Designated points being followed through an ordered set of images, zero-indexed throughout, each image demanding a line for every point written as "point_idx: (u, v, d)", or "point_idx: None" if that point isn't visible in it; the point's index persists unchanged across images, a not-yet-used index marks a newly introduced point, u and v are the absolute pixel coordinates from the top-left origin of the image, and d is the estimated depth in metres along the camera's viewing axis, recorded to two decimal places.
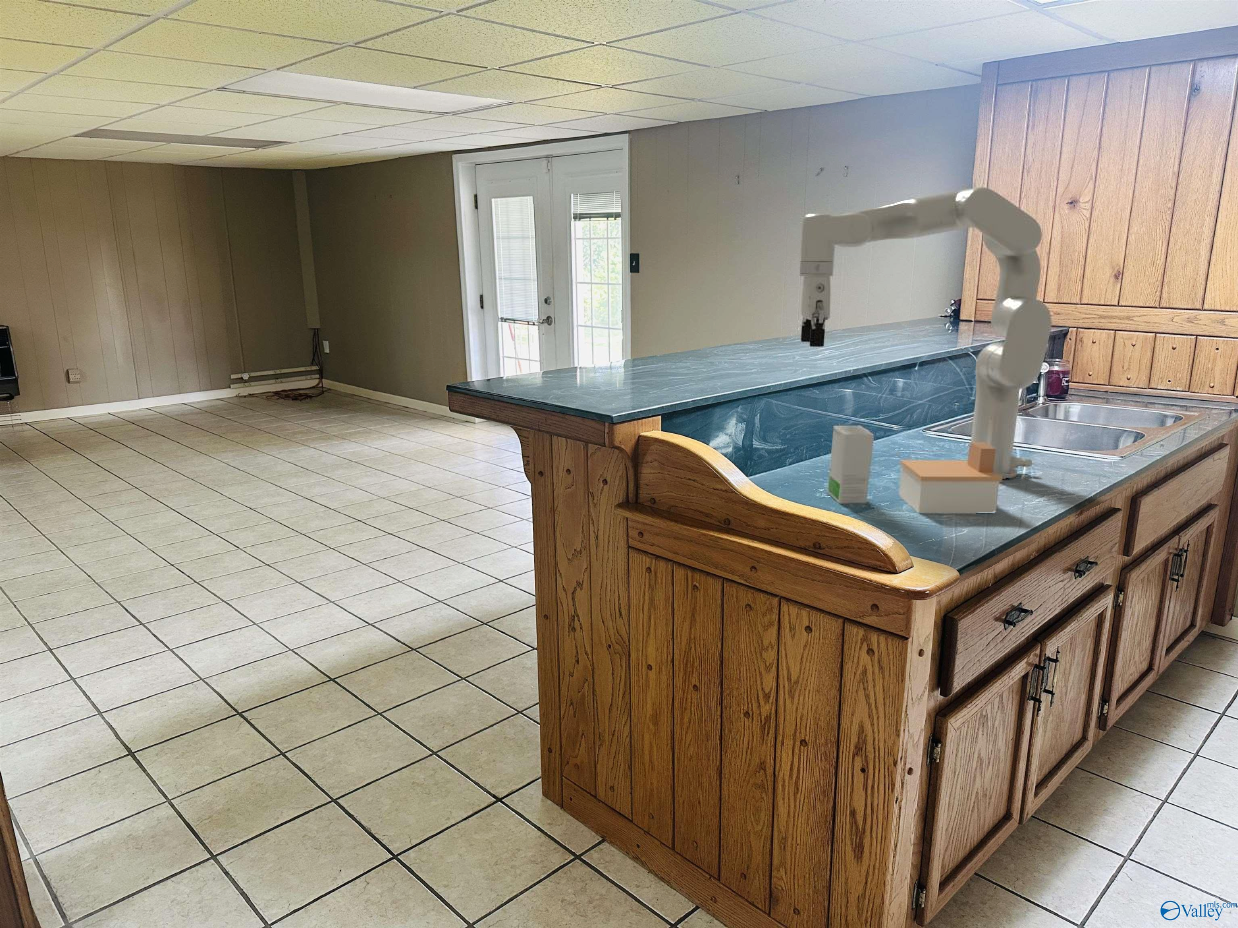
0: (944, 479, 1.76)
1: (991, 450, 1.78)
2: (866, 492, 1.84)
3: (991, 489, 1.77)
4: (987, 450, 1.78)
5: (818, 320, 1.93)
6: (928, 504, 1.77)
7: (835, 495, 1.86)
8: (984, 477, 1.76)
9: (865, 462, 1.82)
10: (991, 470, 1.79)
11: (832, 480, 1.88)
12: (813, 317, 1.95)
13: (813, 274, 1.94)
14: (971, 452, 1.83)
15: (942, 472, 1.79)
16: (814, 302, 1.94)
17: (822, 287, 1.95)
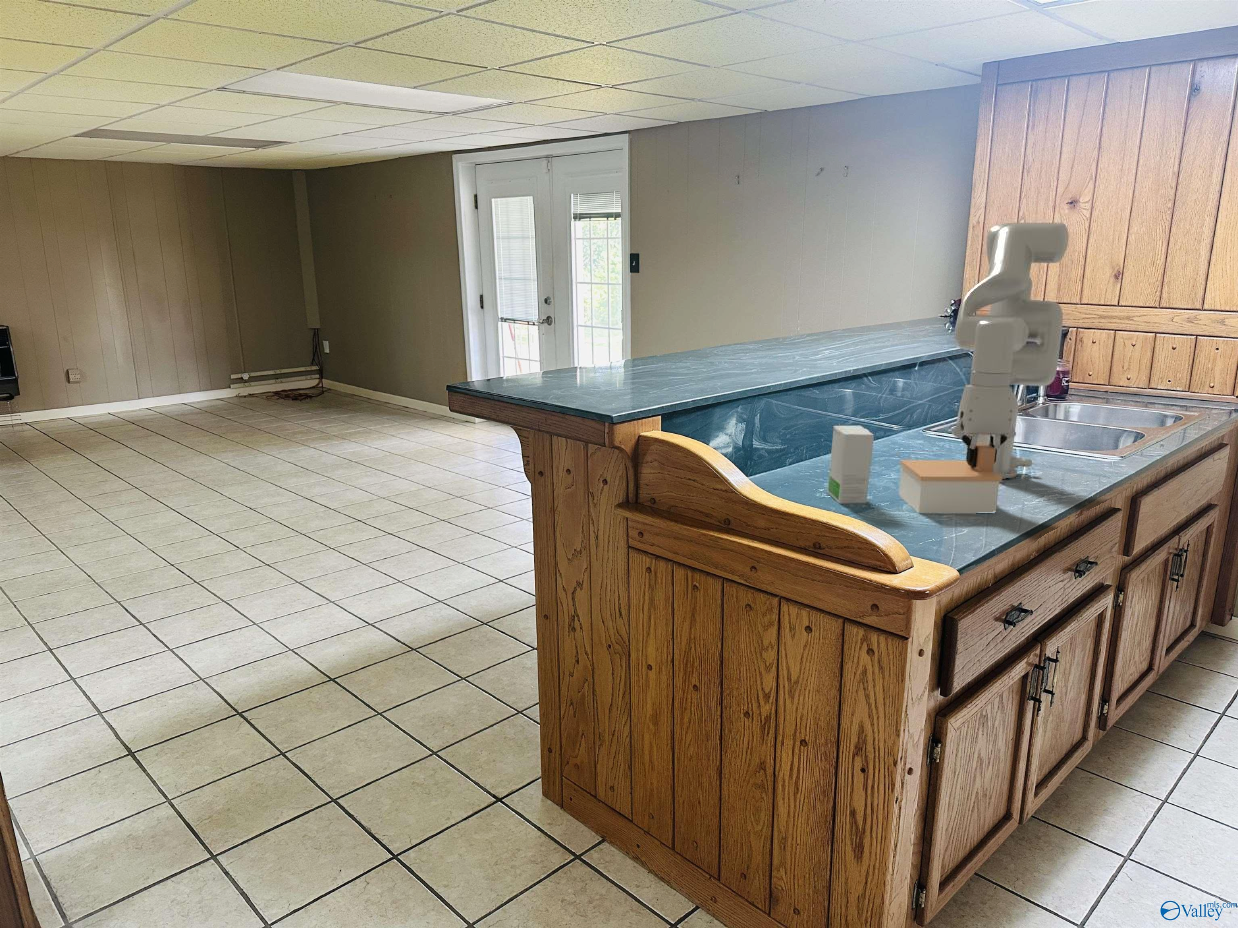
0: (944, 479, 1.76)
1: (991, 450, 1.78)
2: (866, 492, 1.84)
3: (991, 489, 1.77)
4: (987, 450, 1.78)
5: (1006, 438, 1.80)
6: (928, 504, 1.77)
7: (835, 495, 1.86)
8: (984, 477, 1.76)
9: (865, 462, 1.82)
10: (991, 470, 1.79)
11: (832, 480, 1.88)
12: None
13: None
14: None
15: (942, 472, 1.79)
16: None
17: None
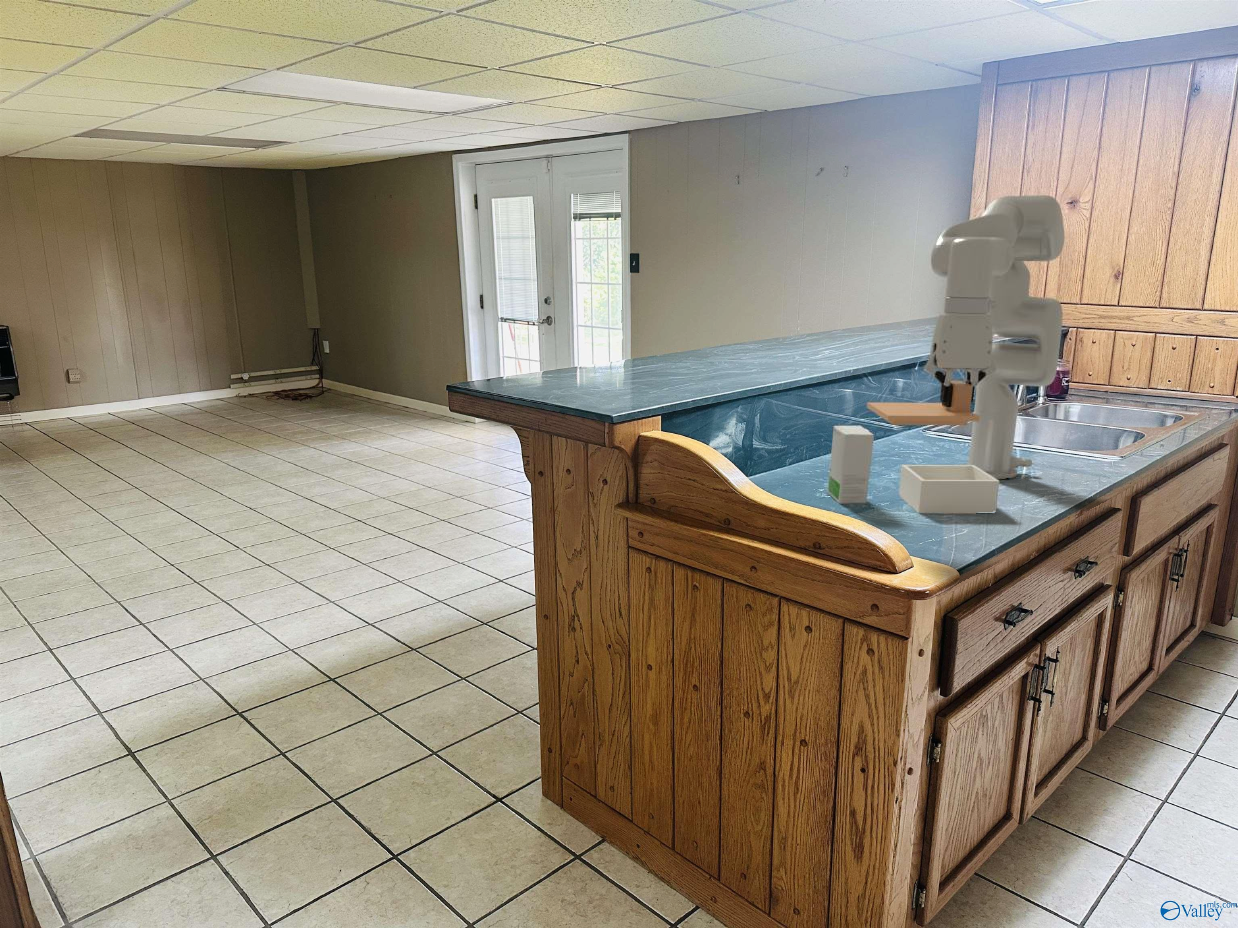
0: (914, 419, 1.55)
1: (968, 387, 1.58)
2: (866, 492, 1.84)
3: (991, 489, 1.77)
4: (963, 387, 1.58)
5: None
6: (928, 504, 1.77)
7: (835, 495, 1.86)
8: (959, 417, 1.55)
9: (865, 462, 1.82)
10: (968, 410, 1.59)
11: (832, 480, 1.88)
12: None
13: (987, 313, 1.56)
14: None
15: (912, 412, 1.58)
16: None
17: None
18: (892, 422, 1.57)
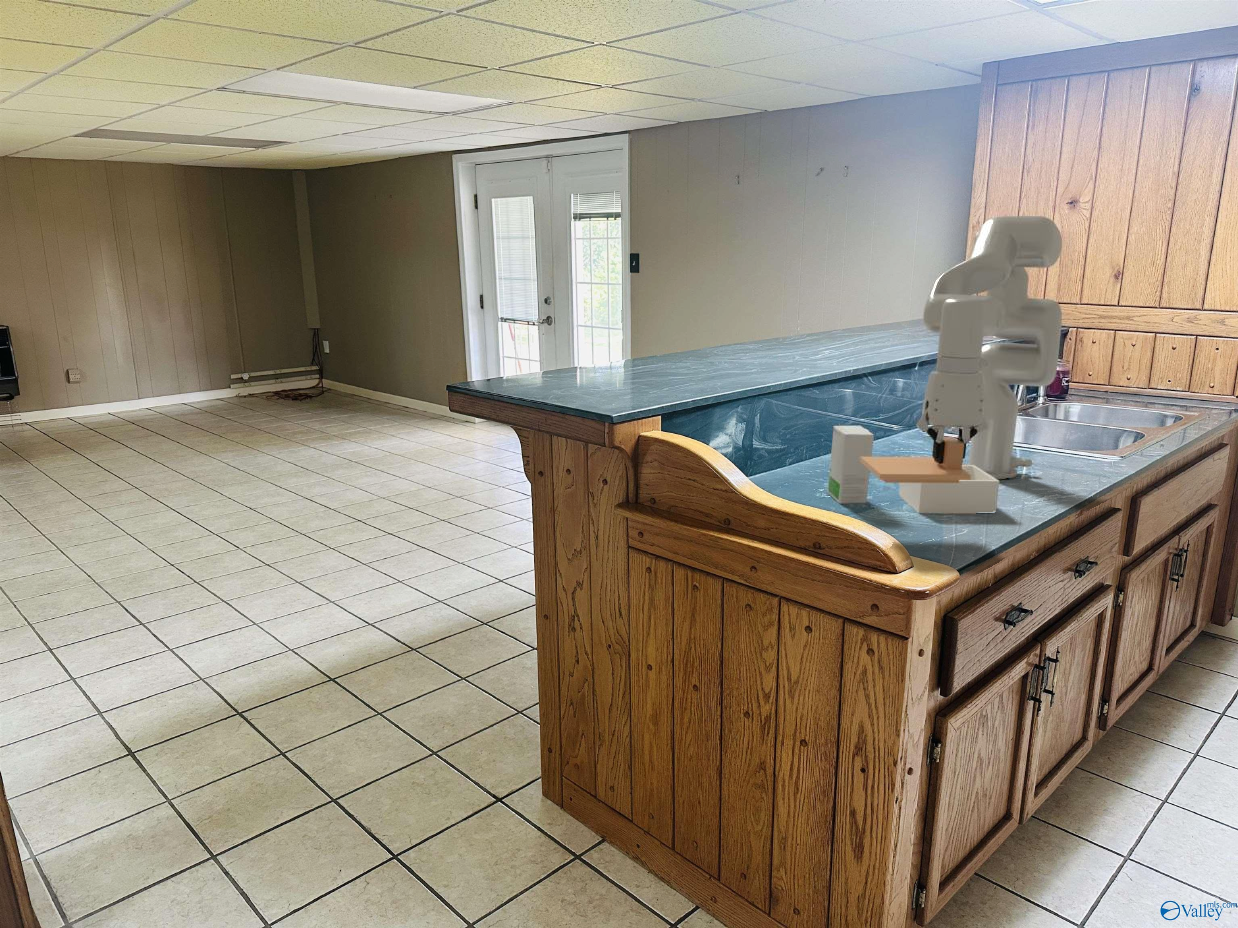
0: (906, 477, 1.57)
1: (959, 445, 1.59)
2: (866, 492, 1.84)
3: (991, 489, 1.77)
4: (955, 445, 1.59)
5: (977, 431, 1.61)
6: (928, 504, 1.77)
7: (835, 495, 1.86)
8: (951, 475, 1.57)
9: None
10: (959, 467, 1.60)
11: (832, 480, 1.88)
12: None
13: None
14: None
15: (905, 469, 1.60)
16: None
17: None
18: (884, 480, 1.59)
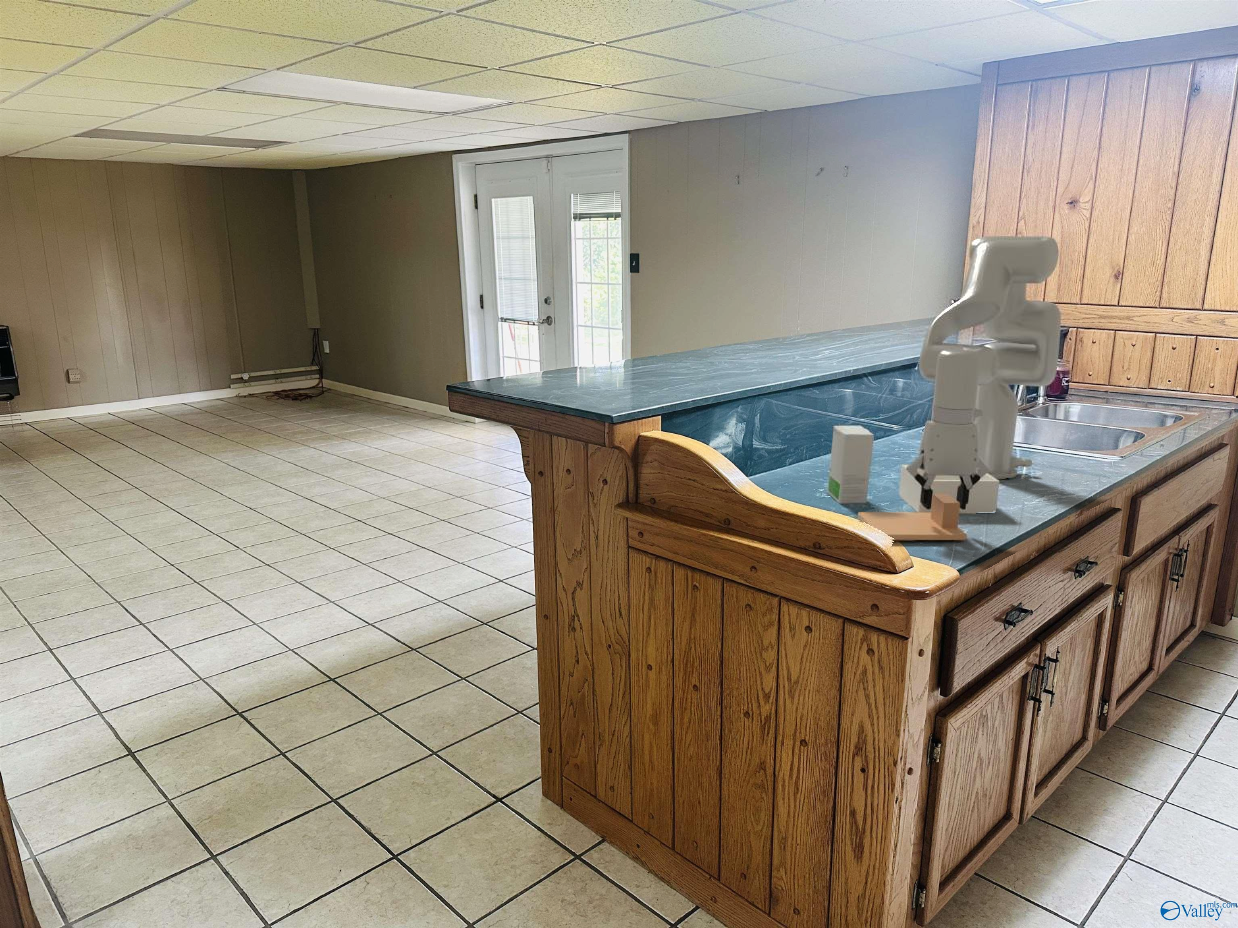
0: (903, 537, 1.60)
1: (955, 504, 1.62)
2: (866, 492, 1.84)
3: (991, 489, 1.77)
4: (951, 504, 1.62)
5: (980, 477, 1.63)
6: None
7: (835, 495, 1.86)
8: (947, 535, 1.60)
9: (865, 462, 1.82)
10: (955, 526, 1.63)
11: (832, 480, 1.88)
12: None
13: (973, 422, 1.60)
14: (935, 505, 1.67)
15: (902, 528, 1.63)
16: None
17: None
18: None
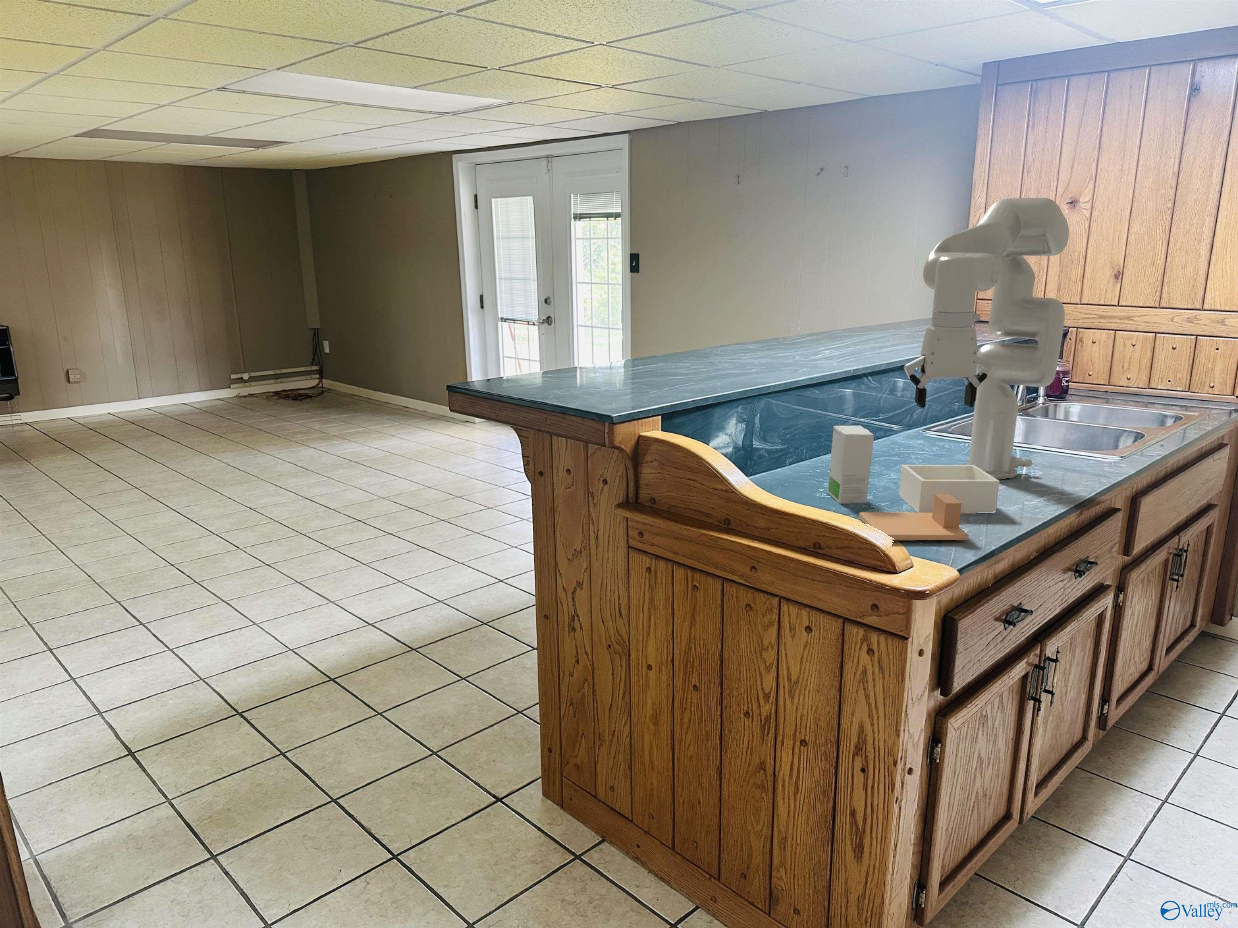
0: (905, 537, 1.60)
1: (957, 505, 1.62)
2: (866, 492, 1.84)
3: (991, 489, 1.77)
4: (952, 505, 1.62)
5: (986, 375, 1.70)
6: (928, 504, 1.77)
7: (835, 495, 1.86)
8: (948, 535, 1.60)
9: (865, 462, 1.82)
10: (957, 526, 1.63)
11: (832, 480, 1.88)
12: None
13: None
14: (936, 505, 1.67)
15: (903, 529, 1.63)
16: None
17: None
18: None
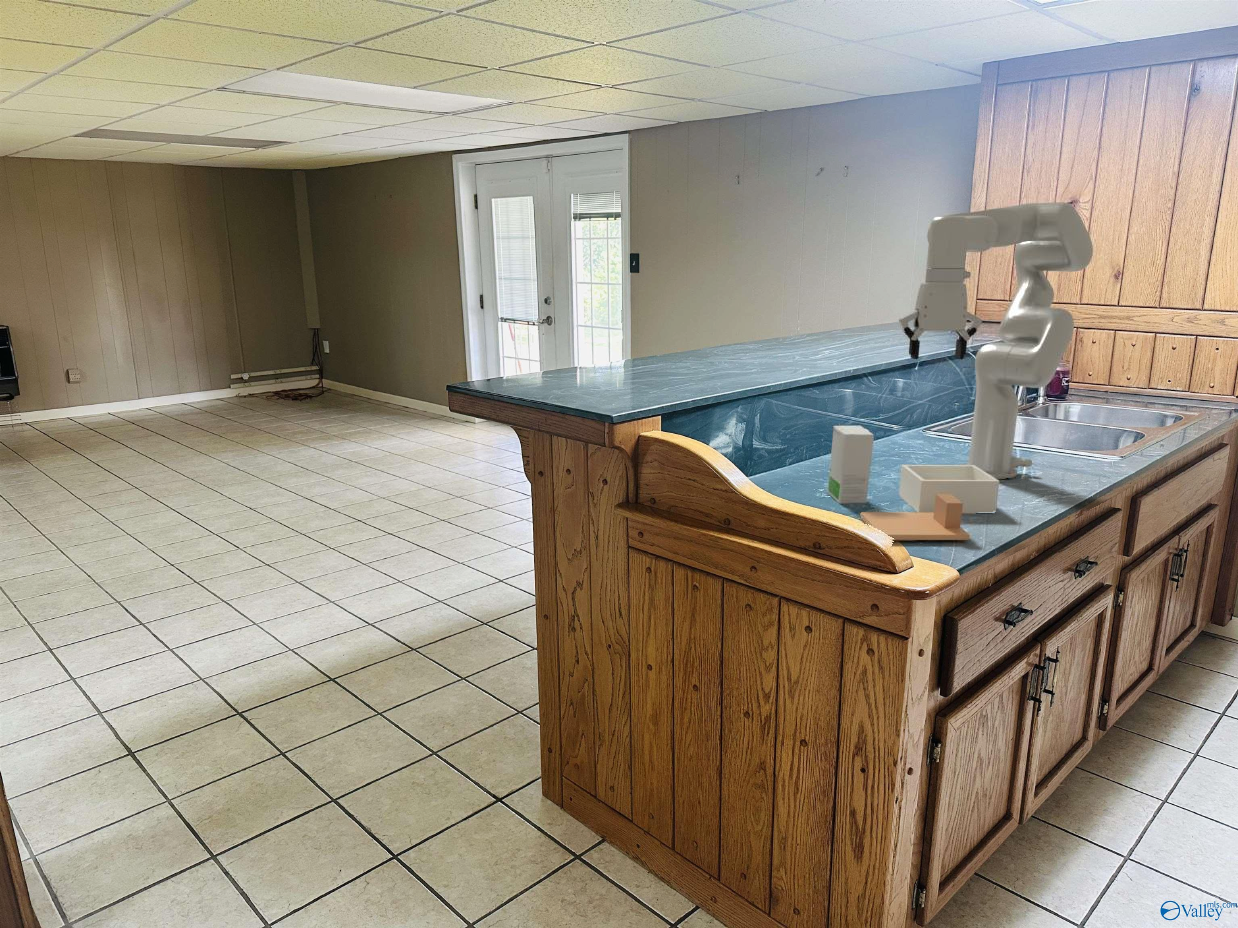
0: (906, 537, 1.60)
1: (958, 505, 1.62)
2: (866, 492, 1.84)
3: (991, 489, 1.77)
4: (953, 505, 1.62)
5: (976, 329, 1.82)
6: (928, 504, 1.77)
7: (835, 495, 1.86)
8: (950, 535, 1.60)
9: (865, 462, 1.82)
10: (958, 526, 1.63)
11: (832, 480, 1.88)
12: None
13: None
14: (937, 505, 1.67)
15: (904, 529, 1.63)
16: None
17: None
18: None
